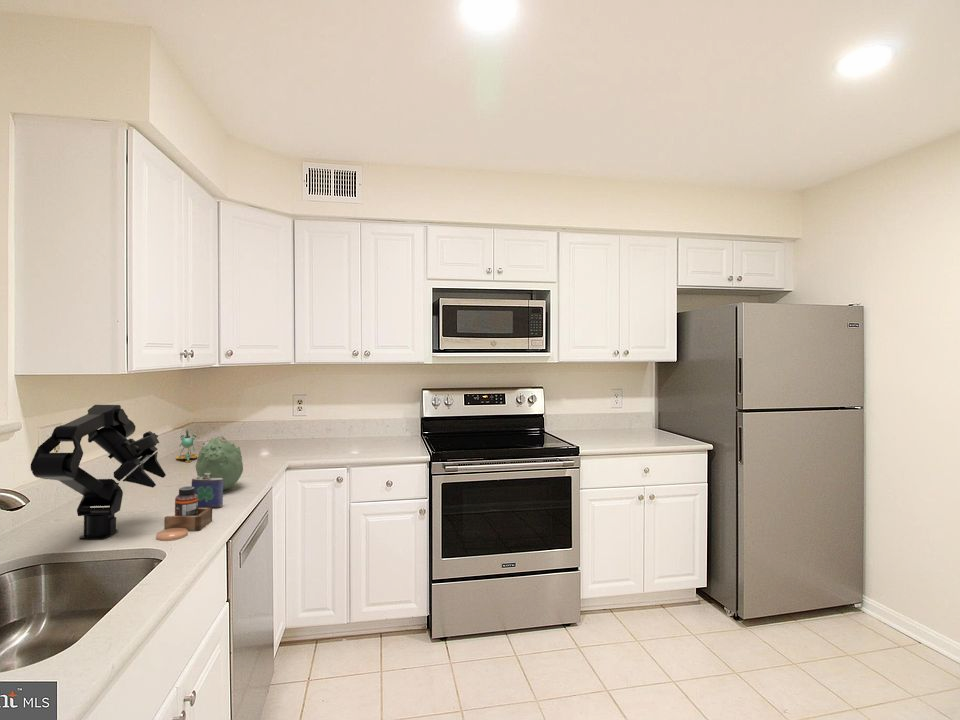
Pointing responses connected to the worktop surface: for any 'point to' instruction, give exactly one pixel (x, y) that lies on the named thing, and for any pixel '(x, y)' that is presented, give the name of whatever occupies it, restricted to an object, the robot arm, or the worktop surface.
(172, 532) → the tan flat disc
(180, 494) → the supplement bottle
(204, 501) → the flask
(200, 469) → the green bumpy egg shape
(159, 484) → the worktop surface
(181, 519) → the wooden box
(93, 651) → the worktop surface
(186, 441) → the teal round figure
